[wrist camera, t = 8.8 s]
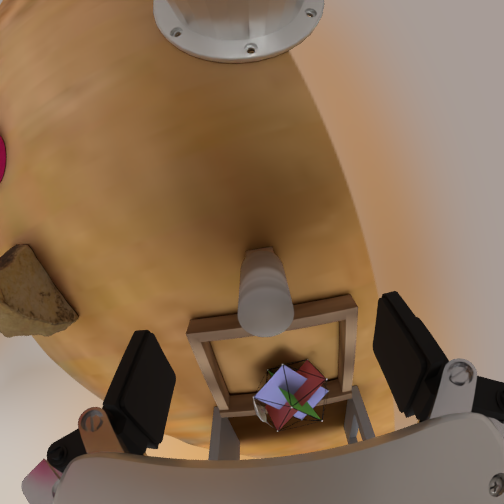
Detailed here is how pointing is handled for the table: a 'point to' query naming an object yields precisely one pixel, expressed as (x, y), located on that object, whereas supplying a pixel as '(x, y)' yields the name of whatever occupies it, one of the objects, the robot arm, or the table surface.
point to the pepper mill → (2, 158)
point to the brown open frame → (271, 328)
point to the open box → (228, 445)
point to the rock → (30, 297)
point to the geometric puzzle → (291, 394)
